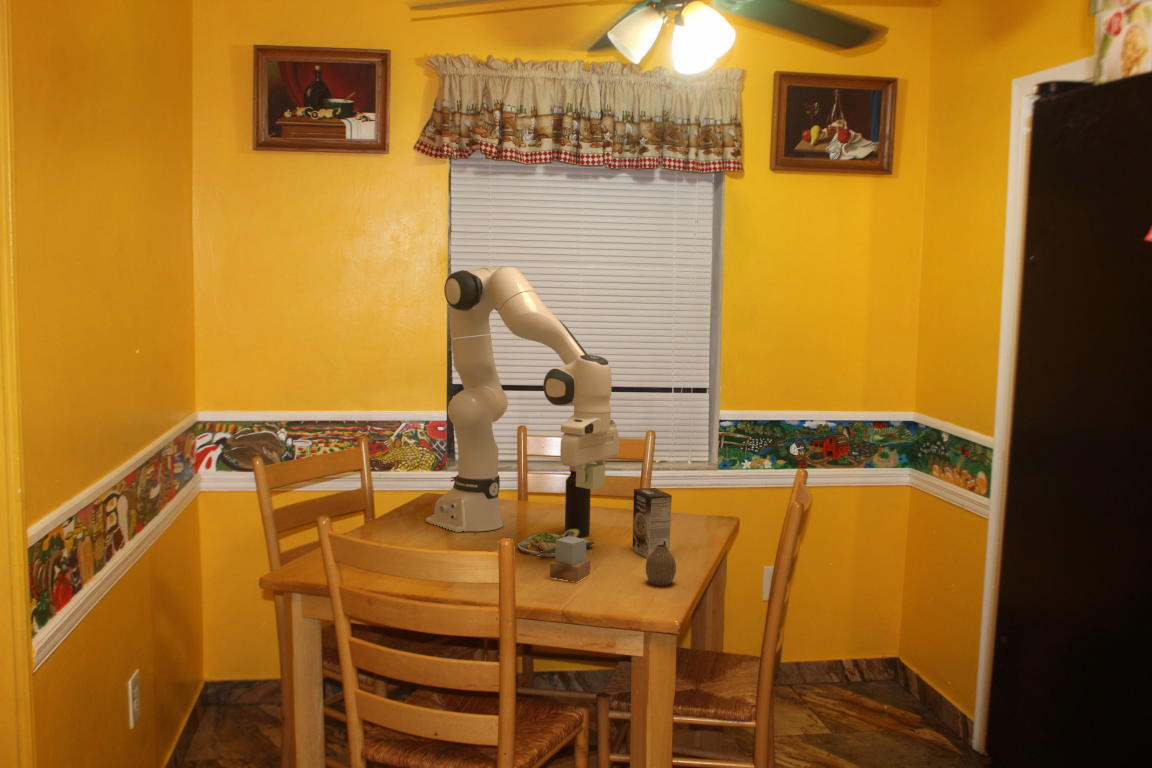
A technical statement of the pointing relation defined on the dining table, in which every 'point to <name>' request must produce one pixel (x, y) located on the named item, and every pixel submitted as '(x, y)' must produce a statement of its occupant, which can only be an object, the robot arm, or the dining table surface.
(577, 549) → the grey cube
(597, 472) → the green cube
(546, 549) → the salad plate
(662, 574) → the brown rounded piece
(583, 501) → the bottle
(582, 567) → the walnut base
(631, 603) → the dining table surface
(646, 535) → the coffee box
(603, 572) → the dining table surface
